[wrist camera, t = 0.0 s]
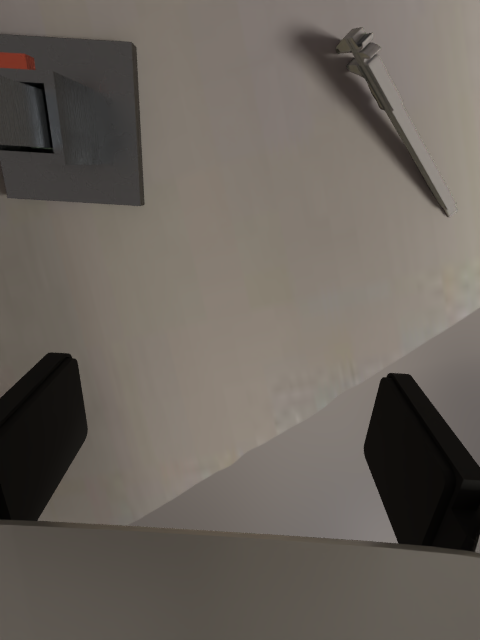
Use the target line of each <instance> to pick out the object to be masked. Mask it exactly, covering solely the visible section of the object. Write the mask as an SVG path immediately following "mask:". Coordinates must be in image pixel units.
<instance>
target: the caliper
mask: <svg viewBox="0 0 480 640" xmlns="http://www.w3.org/2000/svg"><path fill="white" fill-rule="evenodd" d="M373 35H374V34H373V33H369V34H366V32H365V30H364V28H363V27H361V28H355V29H352V30H351V31H350V32H349V33H348V34H347V35H346V36H345V37H344V38H343V39H342V40H341V42H340V43H339V44H338V45H337V47H336V51H337V53H338V54H340V53H353V55H354V57H355V58H354V59H353V60H352V61H351V62H350V63H349V64H348V65H347V66H346V67H347V68H348V70H349V71H350V72H352V73H355V74H357V75H359V76H361V77H364V78H365V80H366V81H367V83H368V86H369V88H370V91H371V93H372V95H373V97H374V98H375V99H376V101H377V103H378V105H379V107H380V109H382V110H385V111H386V113H387V115H388V117H389V118H390V120H391V122H392V124H393V125H394V127H395V129H396V130H397V132H398V134H399V136H400V137H401V139H402V141H403V143H404V144H405V146H406V148H407V149H408V151H409V153H410V155H411V156H412V158H413V160H414V162H415V163H416V165H417V167H418V169H419V170H420V172H421V174H422V176H423V177H424V179H425V181H426V183H427V184H428V186H429V188H430V190H431V191H432V193H433V195H434V196H435V198H436V199H437V201H438V202H439V204H440V205H441V207H442V208H443V209H444V210H445V212H446V214H447V216H448V217H451V216H452V215H453V214H455V213H456V212H457V211H458V209H457V207H456V205H455V204H457V203H456V201H455V199H454V198H453V196H452V194H451V192H450V190H449V188H448V187H447V185H446V183H445V181H444V179H443V177H442V176H441V174H440V172H439V170H438V168H437V166H436V165H435V163H434V161H433V159H432V157H431V155H430V154H429V152H428V150H427V148H426V146H425V144H424V143H423V141H422V139H421V137H420V135H419V133H418V132H417V130H416V128H415V126H414V124H413V122H412V121H411V119H410V117H409V115H408V113H407V111H406V110H405V108H404V106H403V104H402V102H403V100H402V98H401V96H400V94H399V92H398V90H397V89H396V87H395V85H394V83H393V81H392V79H391V77H390V75H389V74H388V72H387V70H386V68H385V66H384V64H383V62H382V60H381V59H380V57H379V55H378V54H377V55H376V53H377V52H378V51H379V50H380V49H381V47H380V46H378V45H377V44H375V43H369V42H370V41H371V40H372V39H373Z"/></svg>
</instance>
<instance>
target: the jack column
mask: <svg viewBox="0 0 480 640" xmlns="http://www.w3.org/2000/svg"><path fill="white" fill-rule="evenodd" d="M0 145H9V146H24V147H32V148H36V149H53V144H52V137H51V130H50V123H49V116H48V109H47V102H46V95H45V91H44V90H41V89H38V88H35V87H32V86H29V85H26V84H23V83H20V82H18V81H15V80H12V79H9V78H6V77H3V76H0Z"/></svg>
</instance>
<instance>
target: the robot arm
mask: <svg viewBox="0 0 480 640" xmlns="http://www.w3.org/2000/svg"><path fill="white" fill-rule="evenodd" d="M87 430H88V428H87V421H86V414H85V408H84V401H83V395H82V388H81V381H80V375H79V368H78V363H77V360H76V359H72V356H71V355H70V354H67V353H48V354H46V355H45V356H44V357H43V358H42V359H41V360H40V361H39V362H38V363H37V364H36V365H35V366H34V367H33V368H32V369H31V370H30V371H29V372H27V373H26V374H25V375H24V376H23V377H22V378H21V379H20V380H19V381H18V382H17V383H16V384H15V385H14V386H13V387H12V388H11V389H9V390H8V391H7V392H6V393H5V394H4V395H3V396H2V397H1V398H0V640H480V467H479V466H478V464H477V463H476V462H475V460H474V459H473V458H472V456H471V455H470V454H469V452H468V451H467V450H466V448H465V447H464V446H463V444H462V443H461V442H460V440H459V439H458V438H457V436H456V435H455V434H454V432H453V431H452V430H451V428H450V427H449V426H448V424H447V423H446V422H445V420H444V419H443V418H442V416H441V415H440V414H439V412H438V411H437V410H436V408H435V407H434V406H433V404H432V403H431V402H430V401H429V399H428V398H427V396H426V395H425V394H424V392H423V391H422V390H421V388H420V387H419V386H418V384H417V383H416V382H415V380H414V379H413V378H412V376H411V375H409V374H398V373H397V374H396V373H389V374H388V375H387V377H383V378H382V379H381V381H380V384H379V388H378V393H377V396H376V400H375V404H374V408H373V412H372V416H371V420H370V424H369V428H368V432H367V435H366V440H365V444H364V454H365V458H366V461H367V463H368V466H369V469H370V471H371V474H372V476H373V479H374V482H375V484H376V487H377V489H378V492H379V494H380V497H381V499H382V502H383V505H384V507H385V510H386V512H387V515H388V518H389V520H390V523H391V525H392V528H393V530H394V533H395V536H396V538H397V541H398V543H399V544H396V543H383V542H373V541H358V540H344V539H329V538H315V537H300V536H284V535H270V534H255V533H238V532H223V531H206V530H189V529H173V528H157V527H140V526H122V525H104V524H86V523H68V522H50V521H37V520H38V518H39V517H40V515H41V513H42V512H43V510H44V508H45V507H46V505H47V503H48V502H49V500H50V498H51V497H52V495H53V493H54V491H55V490H56V488H57V486H58V485H59V483H60V481H61V480H62V478H63V476H64V475H65V473H66V471H67V470H68V468H69V466H70V465H71V463H72V461H73V459H74V458H75V456H76V454H77V453H78V451H79V449H80V448H81V446H82V444H83V443H84V441H85V439H86V436H87Z"/></svg>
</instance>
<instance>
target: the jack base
mask: <svg viewBox="0 0 480 640" xmlns="http://www.w3.org/2000/svg"><path fill="white" fill-rule="evenodd" d="M0 76H3V77H6V78H9V79H12V80H15V81H18V82H20V83H23V84H26V85H29V86H32V87H35V88H38V89H41V90H44V91H45V95H46V102H47V109H48V116H49V123H50V130H51V137H52V144H53V149H36V148H32V147H24V146H9V145H0V162H1V167H2V172H3V177H4V182H5V187H6V192H7V197H8V198H17V199H33V200H50V201H66V202H83V203H99V204H116V205H132V206H142V205H144V187H143V168H142V149H141V130H140V110H139V91H138V72H137V53H136V46H135V45H134V44H133V43H132V42H121V41H105V40H88V39H71V38H55V37H38V36H21V35H4V34H0Z"/></svg>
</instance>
